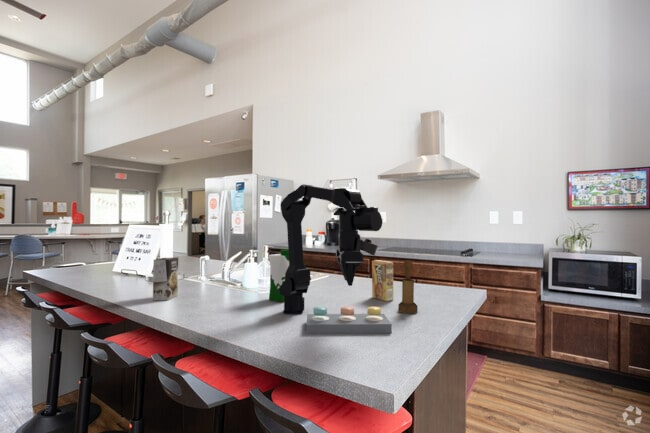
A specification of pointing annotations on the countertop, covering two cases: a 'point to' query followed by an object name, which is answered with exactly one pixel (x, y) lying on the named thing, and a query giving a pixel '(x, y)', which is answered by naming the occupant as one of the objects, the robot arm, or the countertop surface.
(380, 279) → the candy box
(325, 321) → the button console
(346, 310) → the terracotta button
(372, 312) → the mustard button
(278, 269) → the milk carton
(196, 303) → the countertop surface
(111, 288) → the countertop surface
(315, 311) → the teal button
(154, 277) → the coffee box
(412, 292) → the brown stepped post
